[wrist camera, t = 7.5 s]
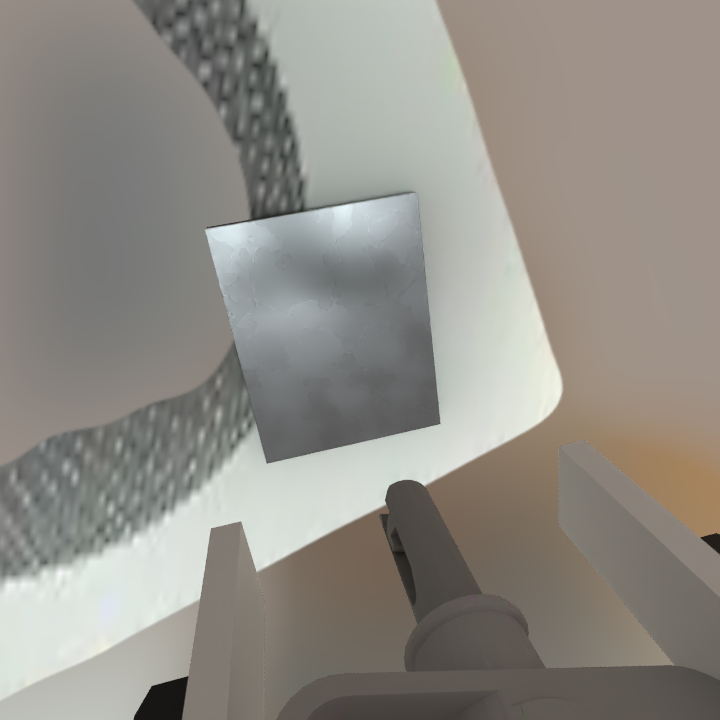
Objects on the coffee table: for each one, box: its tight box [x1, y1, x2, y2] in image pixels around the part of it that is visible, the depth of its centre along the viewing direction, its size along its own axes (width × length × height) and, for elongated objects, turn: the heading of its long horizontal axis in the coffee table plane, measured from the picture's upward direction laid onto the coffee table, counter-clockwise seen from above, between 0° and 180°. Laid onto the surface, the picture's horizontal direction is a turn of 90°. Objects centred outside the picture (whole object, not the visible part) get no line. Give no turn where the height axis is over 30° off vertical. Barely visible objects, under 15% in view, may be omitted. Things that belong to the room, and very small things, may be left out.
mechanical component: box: [277, 480, 720, 720], centre depth 10 cm, size 3×10×10 cm, turn 77°
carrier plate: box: [205, 192, 440, 463], centre depth 28 cm, size 14×11×1 cm
